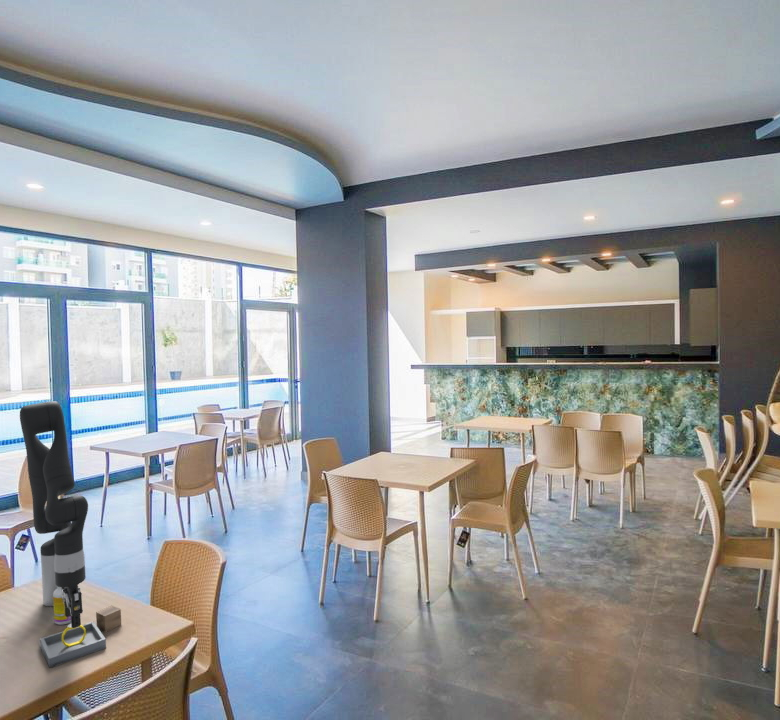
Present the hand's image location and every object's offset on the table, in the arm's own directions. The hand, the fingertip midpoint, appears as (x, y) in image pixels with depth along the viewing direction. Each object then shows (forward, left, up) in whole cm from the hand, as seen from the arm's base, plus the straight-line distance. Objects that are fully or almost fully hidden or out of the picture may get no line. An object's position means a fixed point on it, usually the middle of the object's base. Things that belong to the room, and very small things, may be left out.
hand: (72, 621), depth 158 cm
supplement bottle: (-20, +2, -8) cm, 21 cm away
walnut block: (-6, +11, -8) cm, 14 cm away
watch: (0, 0, -7) cm, 7 cm away
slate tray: (0, 0, -8) cm, 8 cm away
